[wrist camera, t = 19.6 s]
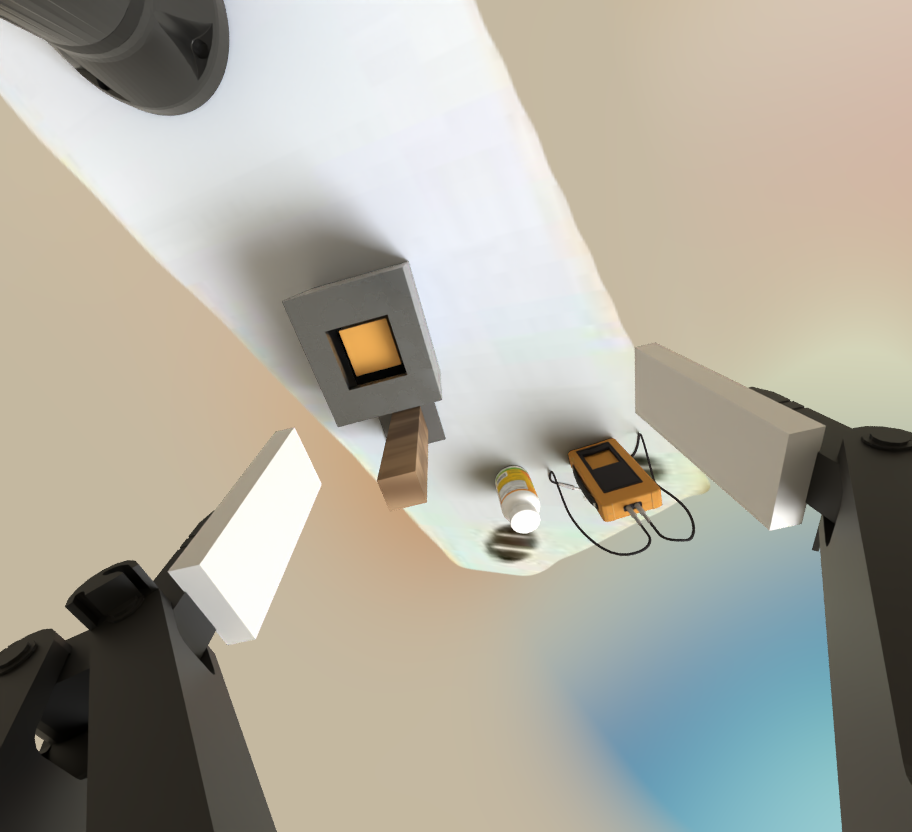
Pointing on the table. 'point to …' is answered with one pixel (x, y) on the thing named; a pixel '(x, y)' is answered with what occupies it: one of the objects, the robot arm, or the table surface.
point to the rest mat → (430, 419)
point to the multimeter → (616, 485)
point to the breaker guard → (356, 303)
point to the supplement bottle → (518, 499)
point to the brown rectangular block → (405, 460)
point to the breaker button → (371, 345)
